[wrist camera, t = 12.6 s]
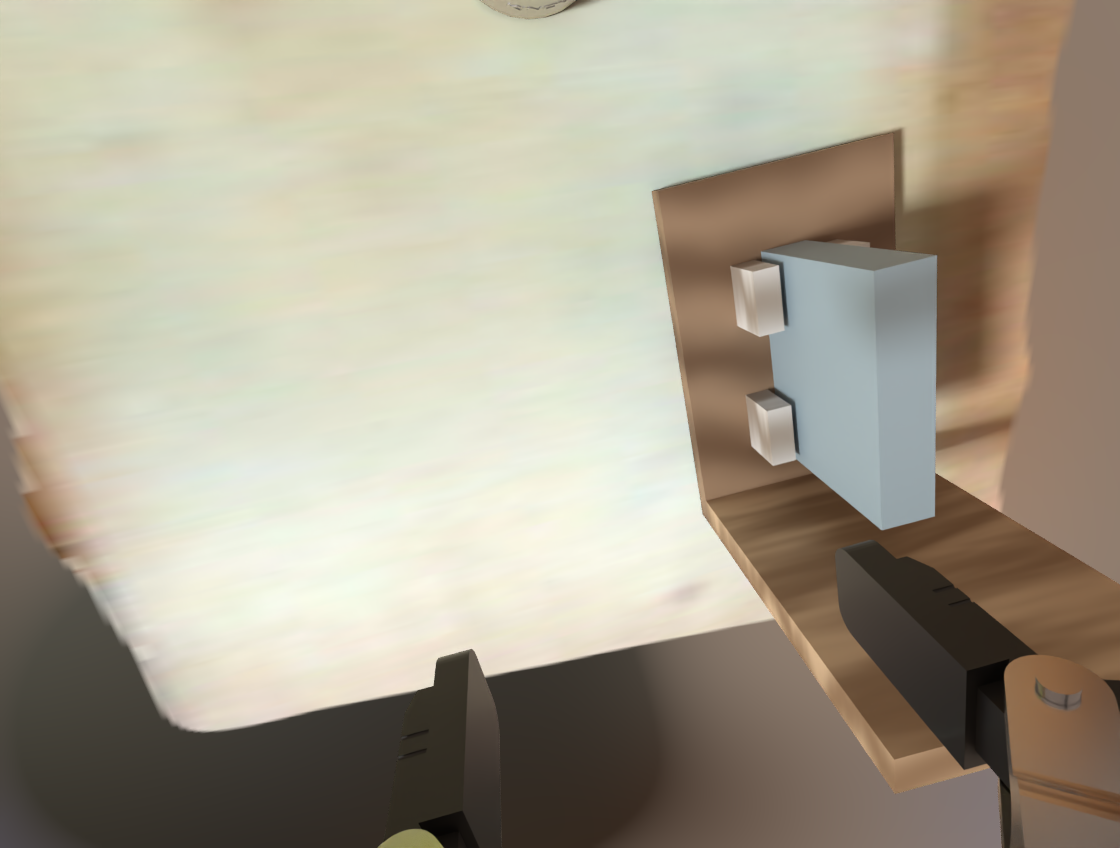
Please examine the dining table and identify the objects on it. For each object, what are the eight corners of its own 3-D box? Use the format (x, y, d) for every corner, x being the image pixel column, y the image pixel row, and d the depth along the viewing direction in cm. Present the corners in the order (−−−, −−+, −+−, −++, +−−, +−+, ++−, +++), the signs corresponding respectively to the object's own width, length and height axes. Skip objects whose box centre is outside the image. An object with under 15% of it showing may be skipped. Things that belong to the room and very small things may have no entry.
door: (761, 251, 38) (873, 270, 27) (817, 237, 38) (953, 250, 27) (780, 445, 43) (881, 530, 32) (830, 432, 43) (948, 512, 32)
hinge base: (651, 191, 37) (879, 173, 16) (878, 135, 38) (1414, 41, 16) (702, 513, 46) (895, 793, 24) (886, 466, 46) (1240, 699, 25)
